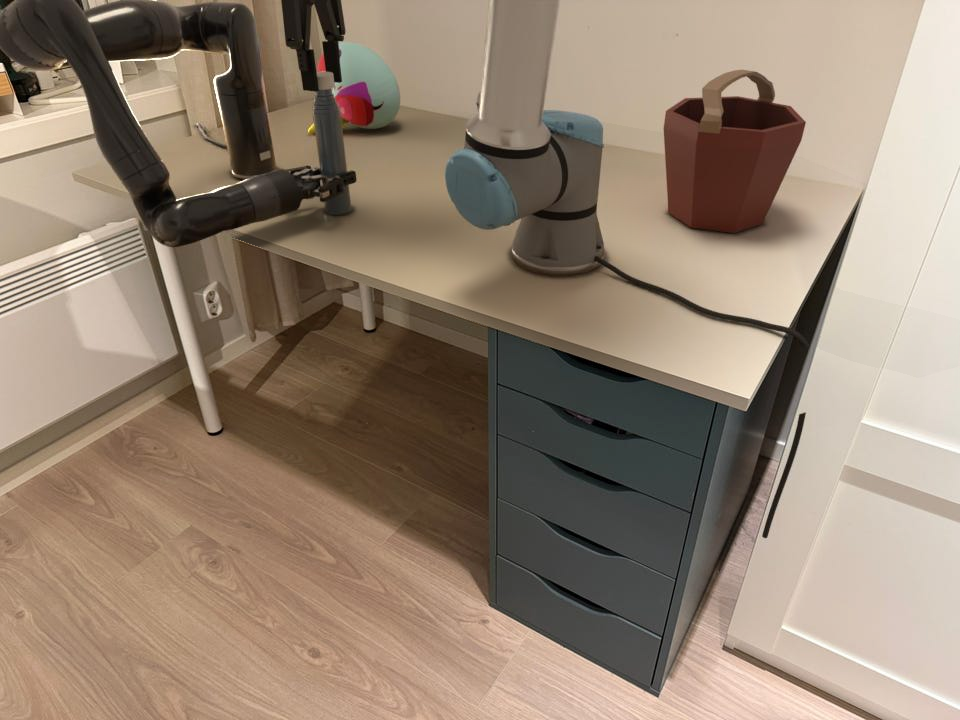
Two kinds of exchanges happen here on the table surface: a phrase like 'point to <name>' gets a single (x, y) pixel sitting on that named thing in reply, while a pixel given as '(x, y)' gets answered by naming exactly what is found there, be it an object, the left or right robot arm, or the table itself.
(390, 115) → the toy
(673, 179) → the bucket
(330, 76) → the cap
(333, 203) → the bottle
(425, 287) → the table surface
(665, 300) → the table surface
